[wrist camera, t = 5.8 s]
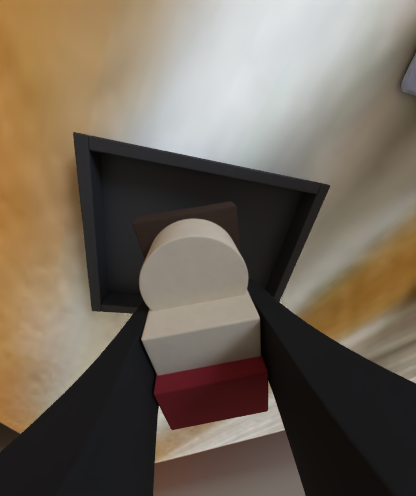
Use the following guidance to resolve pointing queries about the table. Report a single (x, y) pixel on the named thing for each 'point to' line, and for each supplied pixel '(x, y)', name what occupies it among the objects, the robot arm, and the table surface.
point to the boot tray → (182, 197)
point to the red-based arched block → (200, 316)
